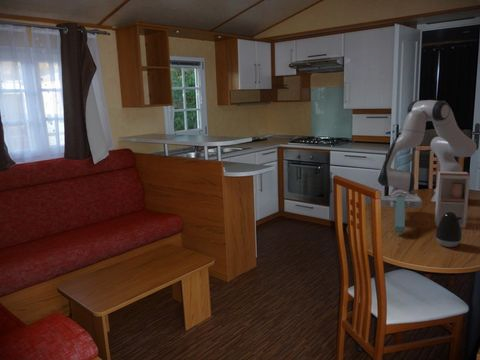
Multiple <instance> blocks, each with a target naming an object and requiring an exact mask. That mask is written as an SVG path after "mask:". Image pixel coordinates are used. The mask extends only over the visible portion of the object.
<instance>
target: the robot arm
mask: <svg viewBox="0 0 480 360" xmlns="http://www.w3.org/2000/svg"><path fill="white" fill-rule="evenodd" d="M406 110H407V112H406V113H407V115H406V117H405V118H404V122H403V126H402V130H401V133H400V135H399V137H397V138H395V139H393V140H392V142H391V145H390V147H389V150H388V152H387V155H386V157H385V159H384V162H383V164H382V166H381V168H380V170H379V172H378V173H377V181H378V184H379V185H381V186H382V187H392V189H391V193H390V195H389V196H388V195H382V196H380V197H381V207H392V208H396V198H405V209H408V208H412V209H413V208H414V209H420V208H421V209H422V204H423V203H422V201H423V200H422V198H421V197H420V196H419V195H418V193H414V192H412V191H413V190H414V187H415V176H414V174H413V173H412V171H407V170H403V169H402V170H401V169H394V168H392V167H391V166H392V163H393V161H394V159H395V156H396V155H397V154H398V153H399V152H401V151H404V150H405V151H406V150H410V149H413V148H416V147H418V146H420V145H421V144H422V142H423V140H424V138H425V137H424V136H425V132H426V127H427V126H426V125H427V122H432V124H433V127H434V130H435V132H436V135H437V136H435V137H433V138H432V139H431V142H430V145H429V146H430V150H431V151H432V152H433V154H434V155H435V156H436V158H437V159H438V163H439V171H442V172H463V170H462V169H463V167H462V165H461V164H460V163H459V162H458V161H457V160H456V159H455V157H458V158H468V157H472V156H473V155H474V154H475V153H476V151H477V143H476V141H475V140H473V139H472V138H470V137H469V136H467V135H466V134H465V133H464V132H463V131H462V130H461V129H460V127H459V126H458V123H457V121H456V118H455V115H454V112H453V110H452V108H451V107H450V105H449V103H448V102H446V101H445V100H433V99H427V100H424V99H423V100H414V101H412V102H410V104H409V105H408V107H407V109H406ZM433 193H434V194H433V196H432V198H431V201H430V202H433V203H436V194H437V187H435V188H434V189H433Z"/></svg>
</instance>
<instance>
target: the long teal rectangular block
mask: <svg viewBox="0 0 480 360" xmlns="http://www.w3.org/2000/svg"><path fill="white" fill-rule="evenodd" d="M405 209H406V208H405V198H396V207H395V213H394V217H395V219H394V223H395V224H394V233H397V234H405V228H406V227H405V225H406V224H405V222H406V221H405V220H406V219H405V217H406V216H405V215H406V213H405V212H406V210H405Z"/></svg>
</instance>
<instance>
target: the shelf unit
mask: <svg viewBox="0 0 480 360" xmlns="http://www.w3.org/2000/svg"><path fill="white" fill-rule="evenodd" d="M470 179H471V173H468V172H467V171H461V172H442V171H440V170H439V171H437V180H436V181H437V183H436V188H437V194H436V193H435V194H436V202H435V211H434V212H435V213H434V223H435V226H436V227H438V224H439V222H440V220H441V218H442V216H443V215H444V214H445V213H447V212H453V213H455V214H456V216H457V217H462V219H460V220H459V222H460V226H461V229H462V228H463V229H465V228H466V226H467V215H468V202H469V192H470V191H469V190H470V189H469V188H470ZM452 183H462V184H463V192H462V199H451V186H452Z"/></svg>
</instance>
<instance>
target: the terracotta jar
mask: <svg viewBox="0 0 480 360" xmlns="http://www.w3.org/2000/svg"><path fill="white" fill-rule="evenodd" d="M462 192H463V184H462V183H452V186H451V199H462Z"/></svg>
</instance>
